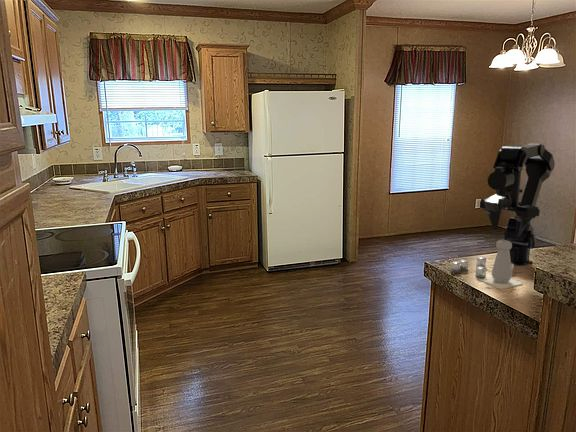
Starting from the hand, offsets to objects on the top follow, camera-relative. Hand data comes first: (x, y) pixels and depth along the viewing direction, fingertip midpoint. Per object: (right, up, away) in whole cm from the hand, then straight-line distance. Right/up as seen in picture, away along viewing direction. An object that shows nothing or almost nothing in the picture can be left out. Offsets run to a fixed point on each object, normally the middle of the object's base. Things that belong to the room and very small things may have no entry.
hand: (506, 233), depth 148 cm
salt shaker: (-5, -15, -8) cm, 17 cm away
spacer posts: (-7, -13, +3) cm, 15 cm away
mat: (-5, -15, -8) cm, 18 cm away
